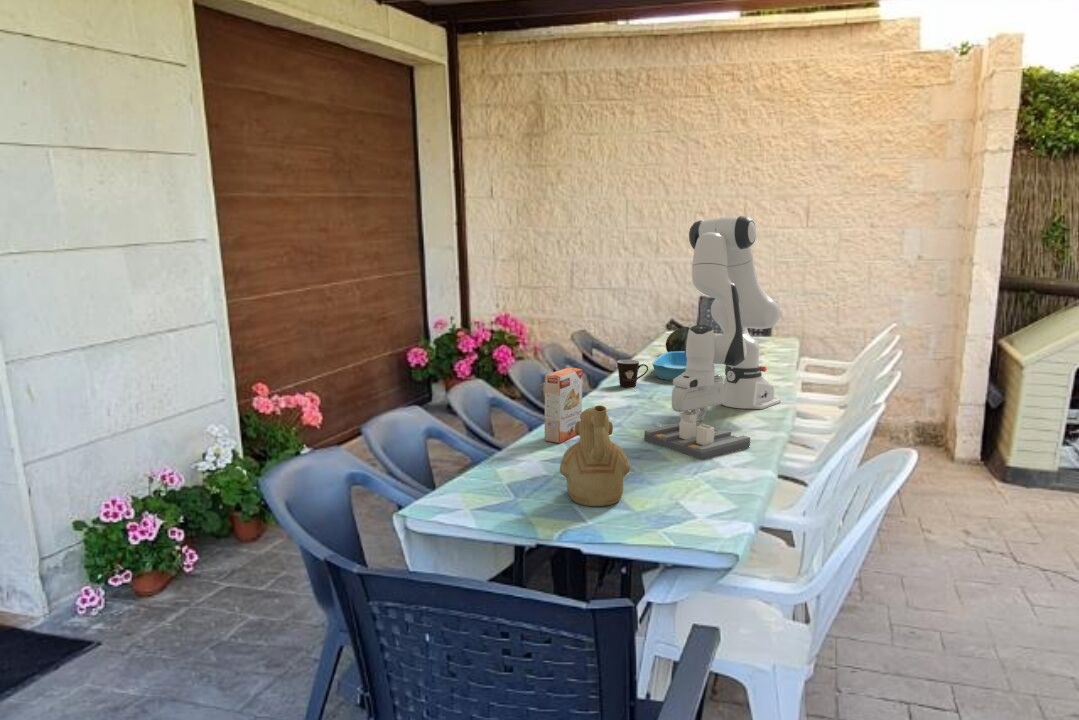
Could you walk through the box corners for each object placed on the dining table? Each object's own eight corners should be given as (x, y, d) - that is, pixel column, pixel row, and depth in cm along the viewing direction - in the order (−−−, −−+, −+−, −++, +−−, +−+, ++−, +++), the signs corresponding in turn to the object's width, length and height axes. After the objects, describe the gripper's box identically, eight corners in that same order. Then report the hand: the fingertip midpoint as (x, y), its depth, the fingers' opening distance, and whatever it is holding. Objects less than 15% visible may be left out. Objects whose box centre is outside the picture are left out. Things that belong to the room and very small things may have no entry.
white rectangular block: (686, 435, 236) (686, 417, 235) (696, 438, 233) (696, 420, 232) (679, 437, 235) (679, 419, 234) (688, 440, 231) (689, 422, 230)
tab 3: (703, 441, 231) (704, 422, 230) (713, 444, 227) (714, 425, 226) (696, 442, 229) (696, 424, 228) (706, 446, 226) (706, 427, 225)
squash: (658, 342, 385) (669, 321, 374) (686, 341, 390) (697, 321, 379) (667, 364, 377) (678, 345, 366) (695, 364, 382) (707, 344, 370)
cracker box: (560, 444, 237) (560, 376, 233) (543, 441, 240) (543, 374, 236) (583, 433, 249) (583, 368, 245) (566, 430, 252) (566, 366, 248)
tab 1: (687, 426, 246) (687, 409, 245) (696, 429, 243) (696, 412, 242) (680, 428, 244) (680, 410, 243) (689, 431, 241) (689, 413, 240)
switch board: (691, 429, 252) (691, 420, 251) (749, 447, 232) (750, 437, 232) (644, 439, 241) (644, 430, 240) (701, 459, 221) (701, 449, 220)
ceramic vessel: (623, 483, 202) (624, 389, 198) (635, 512, 183) (636, 408, 178) (557, 485, 202) (557, 390, 197) (562, 514, 183) (561, 409, 178)
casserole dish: (701, 385, 315) (701, 368, 314) (646, 381, 323) (647, 364, 322) (716, 368, 349) (716, 352, 348) (666, 365, 357) (666, 349, 356)
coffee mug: (614, 387, 312) (614, 362, 310) (620, 383, 320) (620, 359, 318) (643, 389, 308) (643, 364, 306) (648, 385, 316) (648, 360, 314)
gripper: (715, 372, 251) (714, 414, 254) (668, 380, 240) (667, 424, 243) (730, 375, 246) (729, 418, 249) (683, 384, 235) (682, 428, 237)
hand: (698, 421), depth 246 cm, fingers closed
